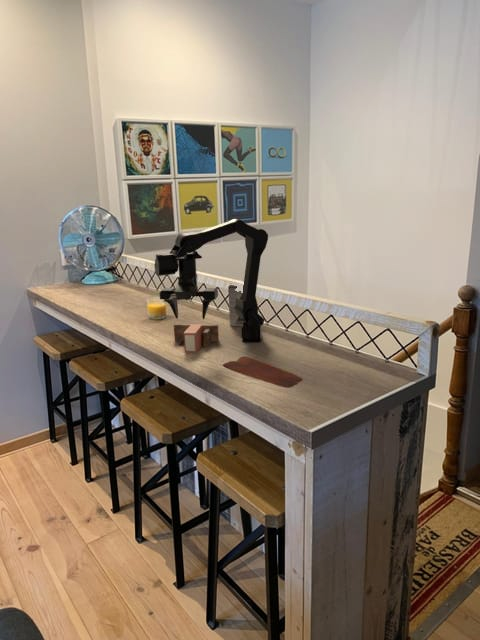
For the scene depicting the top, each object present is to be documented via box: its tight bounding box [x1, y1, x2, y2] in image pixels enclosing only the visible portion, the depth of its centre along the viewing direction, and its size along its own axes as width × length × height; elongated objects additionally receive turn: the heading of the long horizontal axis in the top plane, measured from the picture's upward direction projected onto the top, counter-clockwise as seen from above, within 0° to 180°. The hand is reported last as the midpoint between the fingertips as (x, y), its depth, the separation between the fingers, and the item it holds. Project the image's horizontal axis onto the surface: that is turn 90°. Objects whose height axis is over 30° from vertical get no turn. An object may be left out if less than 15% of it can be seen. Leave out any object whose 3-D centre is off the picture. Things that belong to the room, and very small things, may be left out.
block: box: [184, 323, 204, 354], centre depth 169 cm, size 4×10×7 cm, turn 171°
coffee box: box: [227, 284, 244, 327], centre depth 195 cm, size 9×6×16 cm
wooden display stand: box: [173, 323, 220, 347], centre depth 174 cm, size 16×6×6 cm, turn 81°
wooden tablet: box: [223, 355, 304, 388], centre depth 147 cm, size 27×10×2 cm, turn 44°
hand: (190, 318), depth 165 cm, fingers open, 9 cm apart
